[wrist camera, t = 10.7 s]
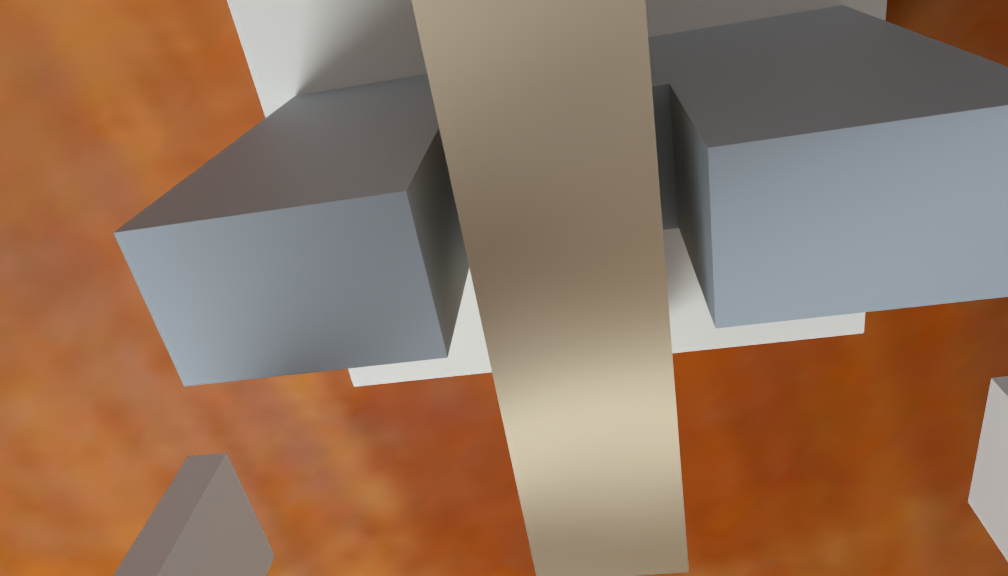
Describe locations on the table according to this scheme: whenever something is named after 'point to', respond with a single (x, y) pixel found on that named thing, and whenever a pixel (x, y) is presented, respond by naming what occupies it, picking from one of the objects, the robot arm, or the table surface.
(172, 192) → the slotted stand
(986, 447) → the robot arm
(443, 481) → the table surface
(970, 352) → the table surface
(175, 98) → the table surface
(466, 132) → the beige arch-shaped block
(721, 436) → the table surface
